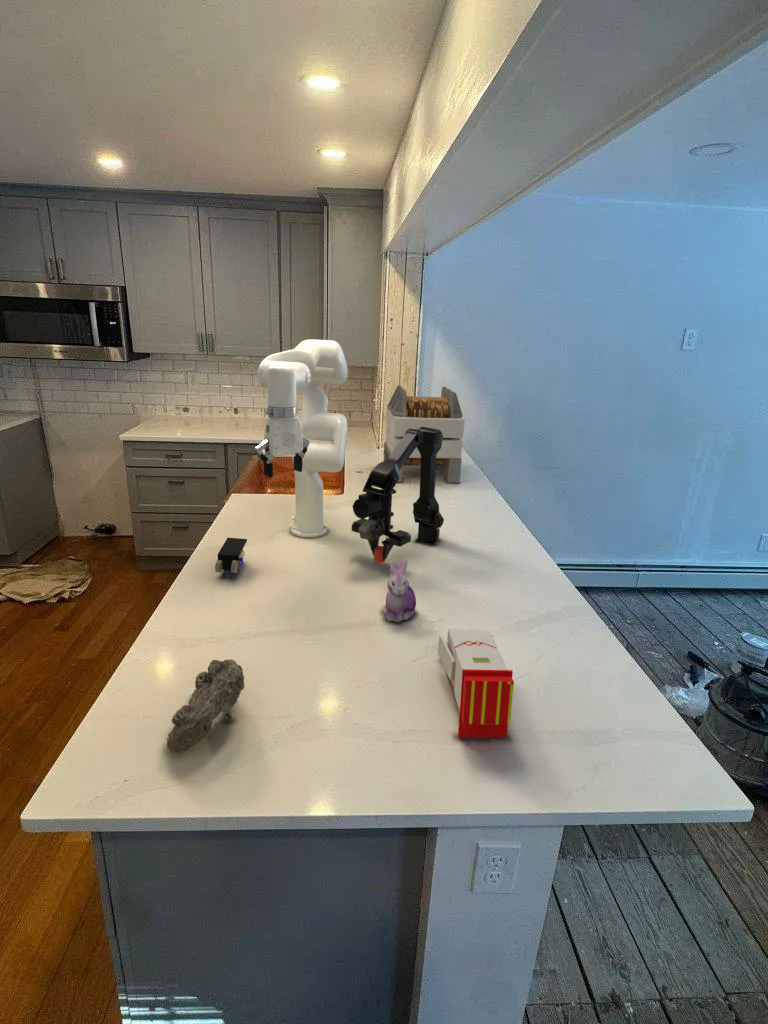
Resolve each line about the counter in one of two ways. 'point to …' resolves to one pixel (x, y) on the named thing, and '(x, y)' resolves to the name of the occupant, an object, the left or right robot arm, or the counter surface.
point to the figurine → (399, 594)
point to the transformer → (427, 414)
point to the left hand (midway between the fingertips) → (283, 473)
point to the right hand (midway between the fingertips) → (379, 557)
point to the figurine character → (230, 556)
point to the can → (378, 554)
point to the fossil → (206, 705)
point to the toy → (478, 682)
